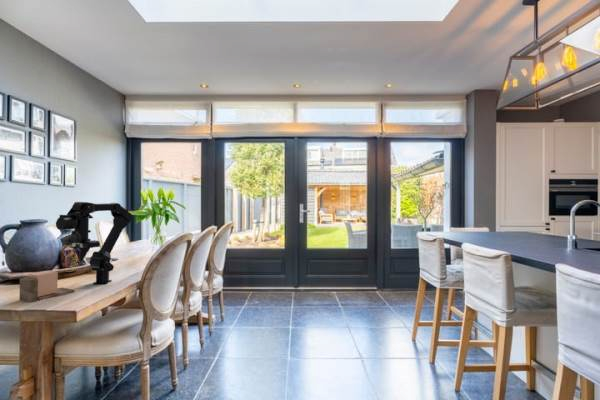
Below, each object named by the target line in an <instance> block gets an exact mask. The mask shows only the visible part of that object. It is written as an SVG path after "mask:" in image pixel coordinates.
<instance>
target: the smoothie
mask: <svg viewBox="0 0 600 400" xmlns="http://www.w3.org/2000/svg"><path fill="white" fill-rule="evenodd" d="M75 253H76V251H75V250H74V249H73V248H70V247H67V248H65V249H64V256H65V259H64V260H65V264H64V263H63V266H64V265H65V266H66V267H75V266H77V265H78V263H77V262H76V260H75V255H76V254H75ZM78 266H79V265H78Z"/></svg>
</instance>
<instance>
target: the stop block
mask: <svg viewBox="0 0 600 400" xmlns="http://www.w3.org/2000/svg"><path fill="white" fill-rule="evenodd" d="M72 293H75V289H71V288H66V287H57V292H56V293H52V294H48V295H44V296H39V297H38V279H35V278H30V277H29V276H27V277H21V278H19V301H22V302H27V303H32V302H37V301H39V302H40V300H41V301H44V299H45V300H49V299H53V298H57V297H60V296H64V295H69V294H72ZM52 297H53V298H52ZM48 298H49V299H48Z"/></svg>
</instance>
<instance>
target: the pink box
mask: <svg viewBox="0 0 600 400" xmlns="http://www.w3.org/2000/svg"><path fill="white" fill-rule="evenodd" d="M58 276H59V275H58V271H56V270H43V271H38V272H37V271H36V272H32V273H28V277H30V278H35V279H38V297H39V296H44V295H48V294H52V293H56V292H57V288H58Z"/></svg>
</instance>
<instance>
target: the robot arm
mask: <svg viewBox="0 0 600 400" xmlns="http://www.w3.org/2000/svg"><path fill="white" fill-rule="evenodd" d="M105 211H107V212H108V211H110V214H111V216H112V217H113V220H112V222H113V223H112V224H113V226H112V227H111V229H110V231H109V232H108V235H107V237H106V239H105V240H104V242H103V244H102V245H101V242H100V241H99V240H95V239H94V240H91V238H89V233H91V232H92V231H91V230H90V229H89V228H90V227H89V225H90V224H89V222H90V221H89V220H90V219H94V217H93V216H92V215H91V214H93V213H96V212H105ZM132 220H133V216H132V213H131V212H129V210H128V209H126V208H124V207H123V206H122V204H120V203H119V202H111V203H110V202H109V203H107V202H106V203H94V202H89V201H75V202H74V203H73V204H72V206H71V208H70V209H69V211H68V212H67V214H59V217H58V218H57V219H56V222H55V227H56V229H57V230H59V231H65V230H66V231H67V230H71V233H70V234H68V235H66V236H63V237H60V239H59V240H60V243H61V245H62V246H63V247H64V246H65V245H66V246H69V245H71V244H72V247H71V248H73V249H74V250H75V251H76V254H77V256H78V259H79V262H83V261H84V259H85V258H86V255H87V254H88V252H89V251H90V249H91V248H92V249H93V248H99V247H100V246H101V247H100V249H99V250H98V251H93V253H92V255H91V256H90V258H89V266H90V268H91V270H92V271H95V281H94V282H93V283H92V284H93V285H106V284H109V283H110V282H112V279H110V272H111V271H114V267H115V266H114V264H112V263H111V260H112V255H111V253H112V251H113V249H114V247H115V245H116V243H117V242H118V239H119V237H120V236H121V234H122V232H123V230H124V229H125V228H127V227H128V226H129V224H131V222H132Z"/></svg>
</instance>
